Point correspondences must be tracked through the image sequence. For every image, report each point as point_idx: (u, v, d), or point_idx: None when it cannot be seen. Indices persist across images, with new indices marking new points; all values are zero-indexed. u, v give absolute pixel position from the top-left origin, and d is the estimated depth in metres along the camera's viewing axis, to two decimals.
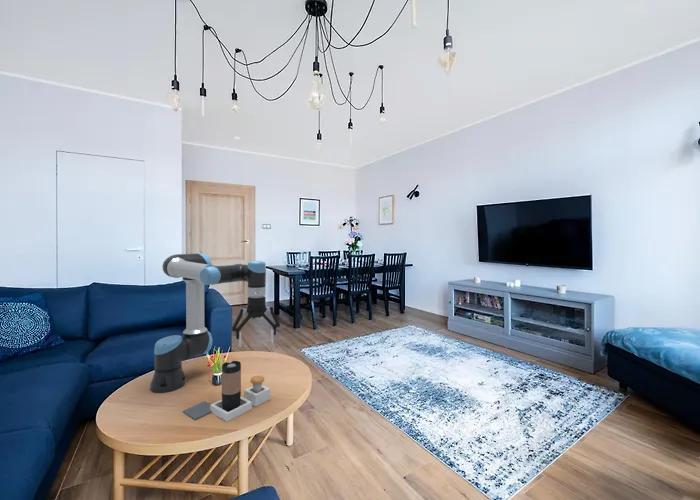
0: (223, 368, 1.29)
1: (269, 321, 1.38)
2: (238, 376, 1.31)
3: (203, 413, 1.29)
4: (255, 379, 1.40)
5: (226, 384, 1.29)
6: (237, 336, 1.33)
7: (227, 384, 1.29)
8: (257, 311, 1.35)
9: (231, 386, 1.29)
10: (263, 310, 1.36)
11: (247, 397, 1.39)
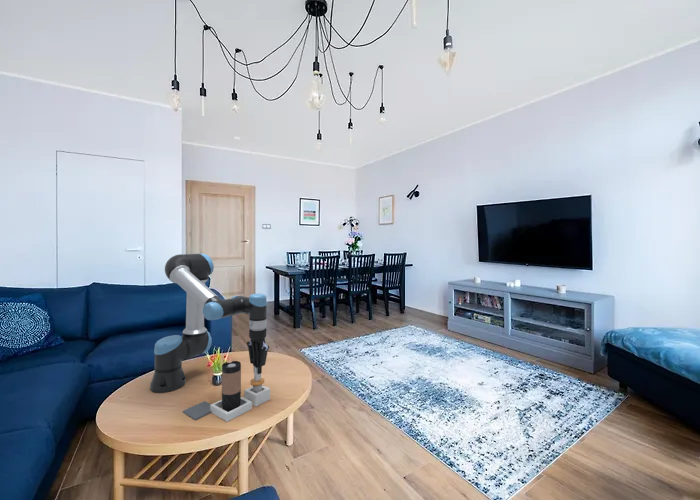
0: (223, 368, 1.29)
1: (257, 358, 1.39)
2: (238, 376, 1.31)
3: (203, 413, 1.29)
4: (255, 381, 1.40)
5: (226, 383, 1.29)
6: (254, 369, 1.41)
7: (227, 384, 1.29)
8: (256, 342, 1.39)
9: (231, 386, 1.29)
10: (259, 343, 1.38)
11: (247, 397, 1.39)
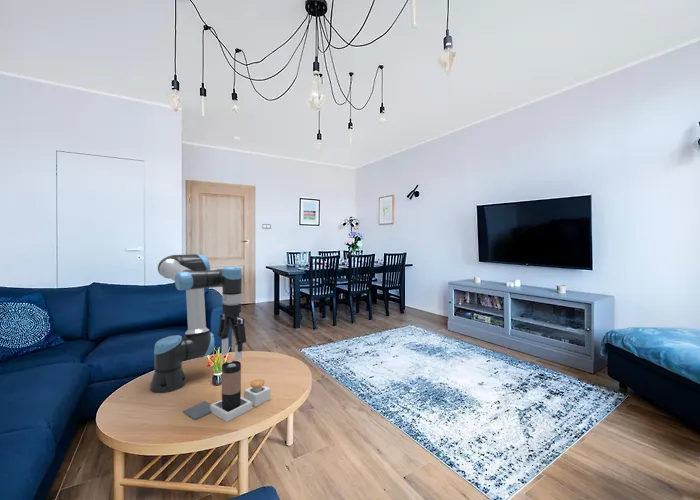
0: (223, 368, 1.29)
1: (235, 334, 1.28)
2: (238, 376, 1.31)
3: (203, 413, 1.29)
4: (255, 383, 1.40)
5: (226, 384, 1.29)
6: (222, 343, 1.35)
7: (227, 384, 1.29)
8: (229, 318, 1.30)
9: (231, 386, 1.29)
10: (233, 319, 1.29)
11: (247, 397, 1.39)
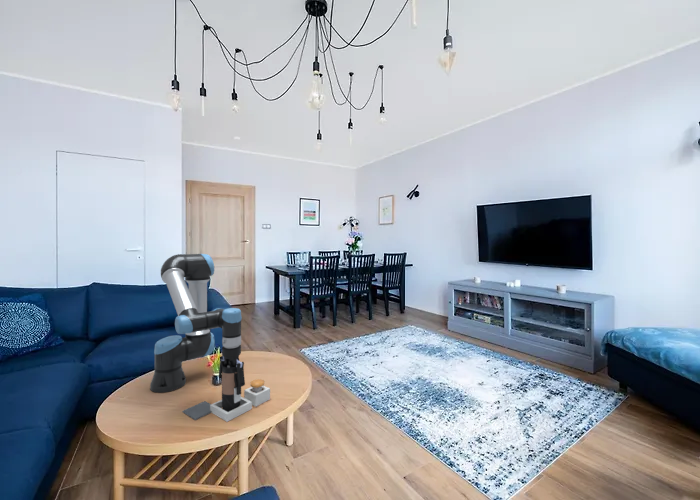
0: (223, 368, 1.29)
1: (234, 377, 1.29)
2: None
3: (203, 413, 1.29)
4: (255, 383, 1.40)
5: (226, 383, 1.29)
6: None
7: (227, 384, 1.29)
8: (229, 360, 1.31)
9: (231, 386, 1.29)
10: (233, 362, 1.30)
11: (247, 397, 1.39)
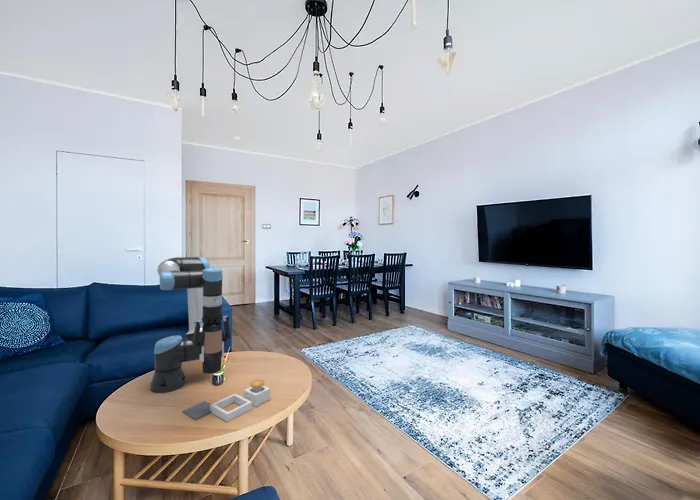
0: (215, 327, 1.29)
1: (222, 332, 1.33)
2: None
3: (203, 413, 1.29)
4: (255, 383, 1.40)
5: (219, 340, 1.30)
6: (199, 351, 1.28)
7: (220, 341, 1.31)
8: (214, 319, 1.31)
9: (221, 341, 1.32)
10: (219, 318, 1.32)
11: (247, 397, 1.39)
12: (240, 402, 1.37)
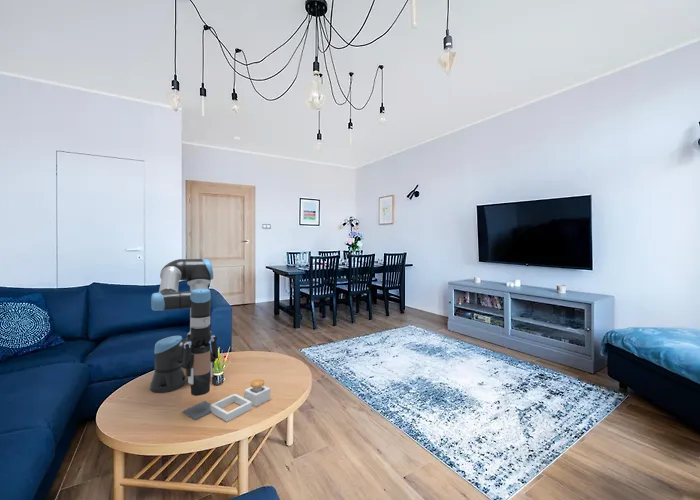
0: (204, 348, 1.29)
1: (210, 353, 1.33)
2: None
3: (203, 413, 1.29)
4: (255, 383, 1.40)
5: (208, 361, 1.31)
6: (189, 373, 1.27)
7: (209, 361, 1.31)
8: (202, 340, 1.30)
9: None
10: (208, 339, 1.32)
11: (247, 397, 1.39)
12: (240, 402, 1.37)
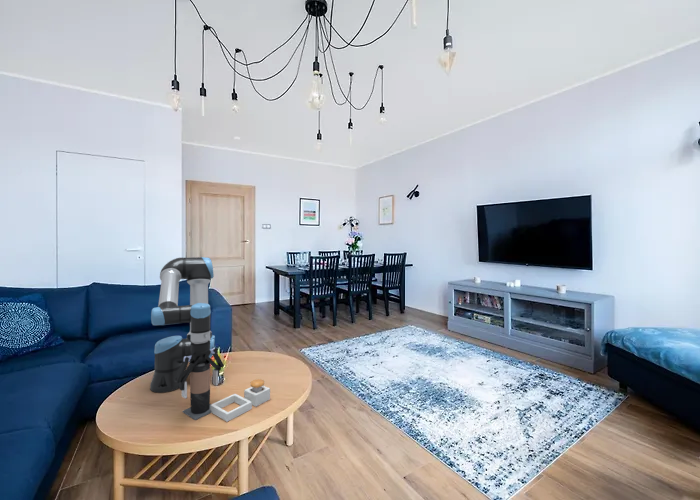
0: (204, 367, 1.29)
1: (213, 364, 1.35)
2: None
3: (203, 413, 1.29)
4: (255, 383, 1.40)
5: (208, 379, 1.31)
6: (182, 387, 1.25)
7: (209, 379, 1.31)
8: (202, 356, 1.31)
9: None
10: (208, 354, 1.33)
11: (247, 397, 1.39)
12: (240, 402, 1.37)
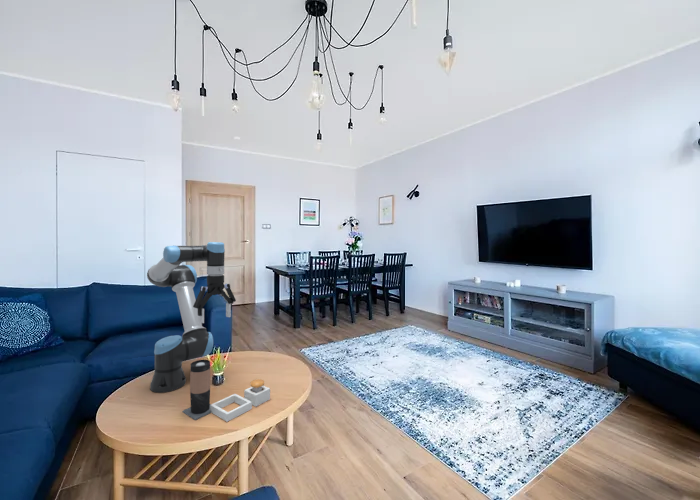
0: (204, 366, 1.29)
1: (227, 297, 1.50)
2: None
3: (203, 413, 1.29)
4: (255, 383, 1.40)
5: (208, 379, 1.31)
6: (200, 313, 1.40)
7: (209, 379, 1.31)
8: (217, 288, 1.46)
9: None
10: (222, 287, 1.48)
11: (247, 397, 1.39)
12: (240, 402, 1.37)
